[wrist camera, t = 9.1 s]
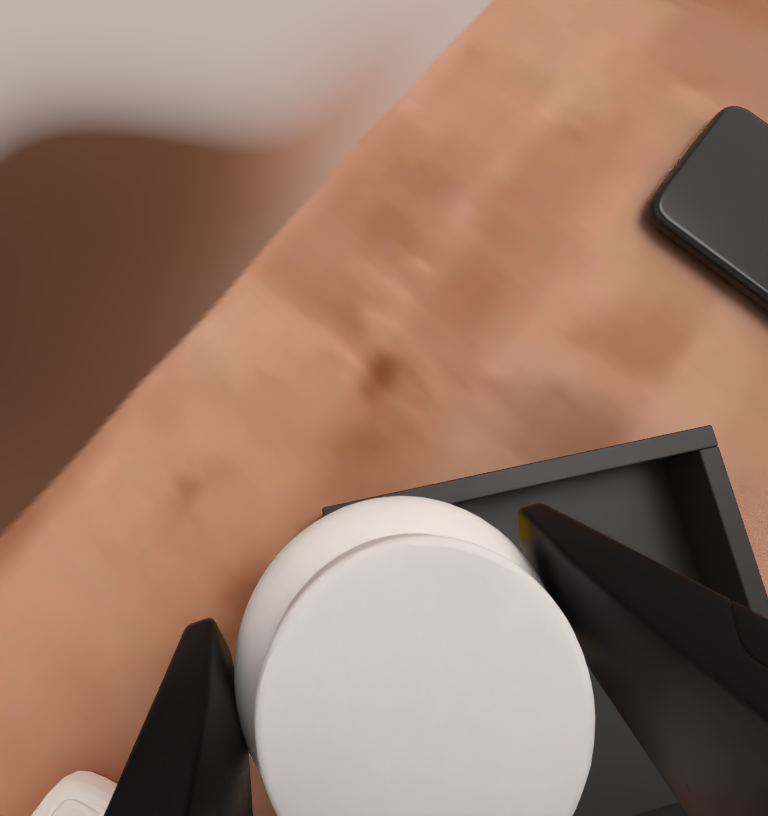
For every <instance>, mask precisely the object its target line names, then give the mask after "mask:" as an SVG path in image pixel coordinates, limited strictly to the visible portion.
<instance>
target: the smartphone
mask: <svg viewBox="0 0 768 816" xmlns="http://www.w3.org/2000/svg"><path fill="white" fill-rule="evenodd" d="M648 216H649V219H650V221H651V222H652V223H653V225H654V226H655V227H656V228H657V229H659V230H660V231H661V232H662V233H664V234H665V235H666V236H668V237H669V238H670V239H672V240H673V241H674V242H676V243H677V244H678V245H680V246H681V247H682V248H684V249H685V250H686V251H688V252H689V253H690V254H692V255H693V256H695V257H696V258H697V259H699V260H700V261H701V262H703V263H704V264H705V265H707V266H708V267H709V268H711V269H712V270H713V271H715V272H716V273H717V274H719V275H720V276H721V277H723V278H724V279H725V280H727V281H728V282H729V283H731V284H732V285H734V286H735V287H736V288H738V289H739V290H740V291H742V292H743V293H744V294H746V295H747V296H748V297H750V298H751V299H752V300H754V301H755V302H756V303H758V304H759V305H760V306H762V307H763V308H764V309H766V310H767V311H768V124H767V123H766V122H764V121H763V120H761V119H760V118H759V117H757V116H756V115H754V114H753V113H751V112H750V111H748V110H746V109H744V108H742V107H738V106H730V107H727V108H724V109H723V110H721V111H720V112H718V113H717V114H716V115H715V117H714V118H713V119H712V120H711V122H710V123H709V124H708V125H707V127H706V128H705V129H704V130H703V132H702V133H701V134H700V135H699V137H698V138H697V139H696V140H695V142H694V143H693V144H692V146H691V147H690V148H689V150H688V151H687V153H686V154H685V155H684V157H683V158H682V159H681V160H680V161H679V162H678V164H677V165H676V166H675V167H674V169H673V170H672V171H671V173H670V174H669V175H668V176H667V178H666V179H665V180H664V182H663V183H662V184H661V185H660V187H659V188H658V189H657V191H656V192H655V193H654V195H653V196H652V198H651V199H650V201H649V204H648Z"/></svg>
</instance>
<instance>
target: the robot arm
mask: <svg viewBox="0 0 768 816" xmlns="http://www.w3.org/2000/svg"><path fill="white" fill-rule="evenodd" d="M518 530H519V542H520V546H521V549H522V552H523V554H524V556H525V557H526V559H527V560H528V561H529V563H530V564H531V565H532V567H533V568H534V570H535V571H536V572H537V574H538V576H539V577H540V579H541V581H542V583H543V584H544V586H545V588H546V590H547V592H548V594H549V595H550V596H551V598H552V599H553V600H554V601H555V603H556V604H557V605H558V606H559V608H560V609H561V611H562V612H563V614H564V615H565V617H566V618H567V620H568V622H569V624H570V625H571V627H572V629H573V631H574V633H575V636H576V638H577V640H578V643H579V645H580V647H581V649H582V652H583V655H584V658H585V661H586V664H587V666H588V667H589V669H590V670H591V672H592V673H593V675H594V676H595V678H596V679H597V681H598V682H599V684H600V685H601V687H602V688H603V690H604V691H605V693H606V694H607V696H608V697H609V699H610V700H611V702H612V703H613V705H614V706H615V708H616V709H617V711H618V712H619V714H620V715H621V717H622V718H623V719H624V721H625V722H626V724H627V725H628V727H629V728H630V730H631V731H632V733H633V734H634V736H635V737H636V739H637V740H638V742H639V743H640V745H641V746H642V748H643V749H644V751H645V752H646V754H647V755H648V757H649V758H650V760H651V761H652V763H653V764H654V766H655V767H656V769H657V770H658V771H659V773H660V774H661V776H662V777H663V779H664V780H665V782H666V783H667V785H668V786H669V788H670V789H671V791H672V792H673V794H674V795H675V797H676V798H677V800H678V801H679V803H680V804H681V806H682V807H683V809H684V810H685V812H686V813H687V815H688V816H768V618H766V617H764V616H762V615H760V614H758V613H756V612H754V611H752V610H750V609H748V608H746V607H745V606H743V605H741V604H739V603H737V602H735V601H732V602H730V600H729V599H728V598H727V597H725V596H723V595H721V594H719V593H717V592H715V591H713V590H711V589H709V588H707V587H705V586H703V585H701V584H700V583H698V582H696V581H694V580H692V579H690V578H688V577H686V576H684V575H682V574H680V573H678V572H676V571H674V570H672V569H670V568H669V567H667V566H665V565H663V564H661V563H659V562H657V561H655V560H653V559H651V558H649V557H647V556H645V555H643V554H641V553H639V552H637V551H636V550H634V549H632V548H630V547H628V546H626V545H624V544H622V543H620V542H618V541H616V540H614V539H612V538H610V537H608V536H606V535H605V534H603V533H601V532H599V531H597V530H595V529H593V528H591V527H589V526H587V525H585V524H583V523H581V522H579V521H577V520H575V519H574V518H572V517H570V516H568V515H566V514H564V513H562V512H560V511H558V510H556V509H554V508H552V507H550V506H548V505H546V504H544V503H542V502H536V503H533V504H530V505H527V506H524V507H521V508H520V509H519V510H518ZM104 816H253V811H252V795H251V779H250V764H249V753H248V747H247V744H246V741H245V738H244V735H243V732H242V728H241V725H240V720H239V716H238V711H237V706H236V699H235V689H234V667H233V661H232V657H231V653H230V650H229V647H228V645H227V643H226V641H225V639H224V637H223V635H222V634H221V632H220V630H219V628H218V626H217V624H216V622H215V621H214V620H213V619H212V618H206V619H203V620H200V621H198V622H195V623H192V624H190V625H188V626H187V627H186V629H185V630H184V633H183V635H182V637H181V639H180V642H179V644H178V646H177V649H176V651H175V653H174V655H173V658H172V660H171V662H170V665H169V667H168V669H167V671H166V674H165V676H164V678H163V681H162V683H161V685H160V687H159V690H158V692H157V694H156V697H155V699H154V701H153V704H152V706H151V708H150V710H149V713H148V715H147V717H146V720H145V722H144V724H143V726H142V729H141V731H140V733H139V736H138V738H137V740H136V742H135V745H134V747H133V749H132V752H131V754H130V756H129V759H128V761H127V763H126V765H125V768H124V770H123V772H122V775H121V777H120V779H119V781H118V784H117V786H116V788H115V791H114V793H113V795H112V797H111V800H110V802H109V804H108V807H107V809H106V811H105V814H104Z"/></svg>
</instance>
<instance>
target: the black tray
mask: <svg viewBox="0 0 768 816" xmlns="http://www.w3.org/2000/svg"><path fill="white" fill-rule="evenodd" d="M717 445H718V444H717V441H716V438H715V434H714V431H713V428H712V426H711V425H708V426H704V427H699V428H694V429H690V430H685V431H680V432H676V433H671V434H666V435H662V436H657V437H652V438H647V439H643V440H638V441H633V442H629V443H624V444H619V445H615V446H610V447H605V448H601V449H596V450H591V451H587V452H582V453H577V454H573V455H568V456H563V457H558V458H554V459H549V460H544V461H540V462H535V463H530V464H526V465H521V466H516V467H512V468H507V469H502V470H498V471H493V472H488V473H483V474H479V475H474V476H469V477H465V478H460V479H455V480H451V481H446V482H441V483H437V484H432V485H427V486H423V487H418V488H413V489H409V490H404V491H399V492H394V493H390V494H385V495H380V496H376V497H371V498H366V499H362V500H357V501H352V502H348V503H343V504H338V505H334V506H329V507H324V508H322V511H323V517H324V516H326V515H328V514H330V513H332V512H334V511H336V510H338V509H341V508H343V507H345V506H348V505H351V504H354V503H357V502H361V501H364V500H369V499H373V498H381V497H392V496H414V497H424V498H429V499H434V500H438V501H442V502H446V503H449V504H452V505H454V506H457V507H459V508H462V509H464V510H467V511H469V512H470V513H472V514H474V515H476V516H478V517H480V518H482V519H483V520H485V521H486V522H487V523H489V524H490V525H492V526H493V527H495V528H496V529H498V530H499V531H500V532H501V533H502V534H504V535H505V536H506V537H507V538H508V539H509V540H510V541H511V542H512V543H513V544H514V545H515V546H516V547H517V548H518V549H519V550H520V551H521V553H522V554H523V552H522V549H521V546H520V542H519V530H518V510H519V509H520V508H521V507H524V506H527V505H530V504H533V503H536V502H542V503H544V504H546V505H548V506H550V507H552V508H554V509H556V510H558V511H560V512H562V513H564V514H566V515H568V516H570V517H572V518H574V519H575V520H577V521H579V522H581V523H583V524H585V525H587V526H589V527H591V528H593V529H595V530H597V531H599V532H601V533H603V534H605V535H606V536H608V537H610V538H612V539H614V540H616V541H618V542H620V543H622V544H624V545H626V546H628V547H630V548H632V549H634V550H636V551H637V552H639V553H641V554H643V555H645V556H647V557H649V558H651V559H653V560H655V561H657V562H659V563H661V564H663V565H665V566H667V567H669V568H670V569H672V570H674V571H676V572H678V573H680V574H682V575H684V576H686V577H688V578H690V579H692V580H694V581H696V582H698V583H700V584H701V585H703V586H705V587H707V588H709V589H711V590H713V591H715V592H717V593H719V594H721V595H723V596H725V597H727V598H728V599H729V600H730V602H732V601H735V602H737V603H739V604H741V605H743V606H745V607H746V608H748V609H750V610H752V611H754V612H756V613H758V614H760V615H762V616H764V617H766V618H768V597H767V594H766V591H765V588H764V585H763V582H762V579H761V576H760V573H759V569H758V566H757V563H756V560H755V557H754V554H753V551H752V548H751V545H750V542H749V539H748V536H747V533H746V530H745V527H744V524H743V521H742V518H741V514H740V511H739V508H738V505H737V502H736V499H735V496H734V493H733V490H732V487H731V484H730V481H729V478H728V475H727V472H726V469H725V466H724V463H723V459H722V456H721V453H720V450H719V448H718V447H717ZM523 555H524V554H523ZM587 668H588V671H589V675H590V679H591V684H592V690H593V696H594V705H595V737H594V747H593V754H592V761H591V767H590V770H589V773H588V777H587V780H586V783H585V786H584V789H583V792H582V794H581V797H580V800H579V802H578V805H577V808H576V810H575V812H574V813H573V815H572V816H688V815H687V813H686V812H685V810H684V809H683V807H682V806H681V804H680V803H679V801H678V800H677V798H676V797H675V795H674V794H673V792H672V791H671V789H670V788H669V786H668V785H667V783H666V782H665V780H664V779H663V777H662V776H661V774H660V773H659V771H658V770H657V769H656V767H655V766H654V764H653V763H652V761H651V760H650V758H649V757H648V755H647V754H646V752H645V751H644V749H643V748H642V746H641V745H640V743H639V742H638V740H637V739H636V737H635V736H634V734H633V733H632V731H631V730H630V728H629V727H628V725H627V724H626V722H625V721H624V719H623V718H622V717H621V715H620V714H619V712H618V711H617V709H616V708H615V706H614V705H613V703H612V702H611V700H610V699H609V697H608V696H607V694H606V693H605V691H604V690H603V688H602V687H601V685H600V684H599V682H598V681H597V679H596V678H595V676H594V675H593V673H592V672H591V670H590V669H589V667H588V666H587Z"/></svg>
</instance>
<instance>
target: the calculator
mask: <svg viewBox="0 0 768 816" xmlns="http://www.w3.org/2000/svg"><path fill="white" fill-rule="evenodd" d="M116 786H117V784H116V783H114V782H113V781H111V780H109V779H107V778H106V777H103V776H101V775H98V774H95V773H93V772H90V771H77V772H75V773H72V774H70V775H68V776H66V777H64V778H63V779H62V780H61V781H60V782H59V783H58V784H57V785H56V786H55V787H54V788H53V789H52V790H51V791H50V792H49V793H48V794H47V795H46V796H45V798H44V799H43V800H42V802H41V803H40V804H39V806H38V807H37V808H36V810H35V811H34V813H33V814H32V815H31V816H104V814H105V811H106V809H107V807H108V804H109V802H110V800H111V797H112V795H113V793H114V791H115V788H116Z"/></svg>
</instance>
